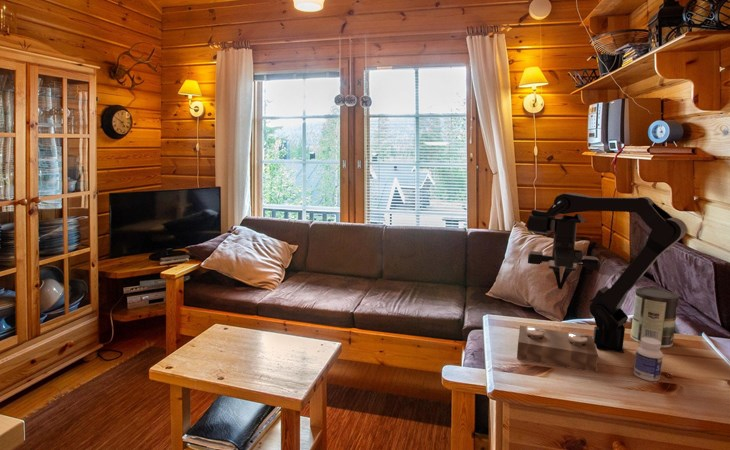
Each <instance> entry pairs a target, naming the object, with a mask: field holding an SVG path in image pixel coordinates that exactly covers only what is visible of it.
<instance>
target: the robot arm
mask: <svg viewBox="0 0 730 450" xmlns="http://www.w3.org/2000/svg"><path fill="white" fill-rule="evenodd" d="M590 211H591V212H592V211H594V212H595V211H596V212H616V213H617V212H621V213H636V214H637V215H638V216H639V217H640V218H641V220H642V221H643V222H644V223H645V225H646V226H647V227H648V228H649V229H650V232H649V235H648V237H647V239H646V241H645V244H644V247H642V249H641V250H640V251H639V253H637V255H636V257H635V258H634V259H633V260H632V262H631V263H630V264H629V265H628V266H627V267H626V269H624V271H623V272H622V274H621V275H620V276H618V278H617V279H616V281H615V282H614V283H613V284H612V286H611V287H610V288H609V287H608V286H607V285H606V286H603V287H602V288H600V289H598V290H597V292H596V293H595V295H594V297H593V298H591V299H590V300H589V302H590V304H589V307H588V309H589V313H590V315H591V316H592V317H593V319H594V321H595V326H594V327H593V328H594V329H593V336H592V337H593V340H594V344H595V347H596V349H597V350H598V349H599V350H602V351H603V350H605V351H610V352H617V353H625V350H624V340H625V333H626V332H625V331H626V328H625V326H624V325H625V324H626V323H627V321H628V319H629V316H628V315H627V314H626V312H625V311H624V310H623V309H622V306H623V305H624V303H625V300H626V298H627V295H628V293H630V291H631V290H632V289H633V287H634V286H635V285H636V284H637V283H638V282H639V280H640V279H641V278H642V277H644V274H646V272H647V271H648V270H649V269H650V268H651V266H652V265H653V264H654V263H655V262H656V260H658V259H659V258H660V256H661V255H662V254H663V253H664V252H666V251H667V250H668V249H670V248H671V247H672V246H673V245H675V244H676V243H678V242H679V241H680V240H681V239H682V238H684V237H685V235H686V234H687V232H688V229H687V224H685V221H683V220H682V219H680V218H677V217H673V216H672V215H671V214H670V213H669V212H668V211H666V210H665V209H664V208H662V207H660V206H659V205H658V204H656V203H655V201H653V200H652V198H650V197H648V196H641V197H621V196H620V197H618V196H617V197H616V196H615V197H614V196H613V197H612V196H611V197H609V196H591V195H587V194H582V193H576V192H566V193H559V194H558V195H556V196H555V198H554V200H553V204H552V205H551V206H550V207H549V208H548V209H547V210H546V211H545V210H539V209H531V213H530V215H529V217H528V219H527V221H526V229H527V230H528V232H530V233H536V234H545V235H550V234H551V233H552V232H553V243H552V252H551V253H552V254H551V255H546V254H544V253H543V252H542V251H534V250H530V251H529V252H528V255H527V258H528V259H527V264H530V265H537V266H539V265H541V264H542V263H543V262H544V263H546V262H547V264H548V266H547V267H548V268H549V269H552V271H553V273H554V276H555V280H556V284H557V288H558V290H562V289H563V287H564V284H565V283H566V281H567V279H568V277H569V276H570V274H571V273H572V272H576V271H577V266H583V267H584V268H585V269H586V270H590V271H600V265H601V261H600V260H599V258H598V257H597V256H592V255H591V256H590V255H583V250H582V249H575V247H576V237H577V226H578V225H577V224H582V223H585V222H586V219H585V218H584V217H582V215H581V214H580V213H583V212H590ZM573 213H576V214H574V215H569V214H573ZM567 214H568V215H567ZM558 216H561V217H558ZM561 267H563V268H562V271H561V269H560V268H561ZM561 272H562V273H561Z"/></svg>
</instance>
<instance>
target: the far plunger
mask: <svg viewBox="0 0 730 450" xmlns="http://www.w3.org/2000/svg"><path fill="white" fill-rule="evenodd" d="M544 329H545V328H543V327H541V326H538V325H528V327H527V332H526V333H527V335H529V336H531V338H537V339H540V338H542V337H544V334H545V330H544Z"/></svg>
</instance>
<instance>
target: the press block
mask: <svg viewBox="0 0 730 450" xmlns="http://www.w3.org/2000/svg"><path fill="white" fill-rule="evenodd" d="M528 326H529V325H528ZM528 326H527V325H519V332H518V340H517V352H516V359H517V360H524V361H528V362H533V363H534V362H535V363H540V364H547V365H551V366H556V367H563V368H569V369H572V370H573V369H574V370H580V371H586V372H590V373H597V367H598V359H599V358H598V356H599V354H598V349H597V348H596V344H595V343H594V340H593V336H592V335H588V334H586V335H587V336H588V339H587V344H584V345H575V344H572V342H570V341H569V340H568V333H569V332H567V331H561V330H560V331H559V330H554V329H546V328H543V329H544V330H545V334H544V337H542V338H540V339H537V338H531V336H529V335H527V333H526V332H527V327H528Z"/></svg>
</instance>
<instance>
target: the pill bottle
mask: <svg viewBox="0 0 730 450" xmlns="http://www.w3.org/2000/svg"><path fill="white" fill-rule="evenodd" d="M639 344H640V345H639V346H638V347H637V348H636V351H635V360H634V366H633V367H634V368H633V374H634V375H635V376H636V377H638V378H639V379H641V380H645V381H649V382H657V381H660V379H661V373H662V365H663V358H664V353H663V352H662V350H661V342H660V341H658V340H656V339H653V338H647V337H644V338H641V342H640V343H639Z"/></svg>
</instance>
